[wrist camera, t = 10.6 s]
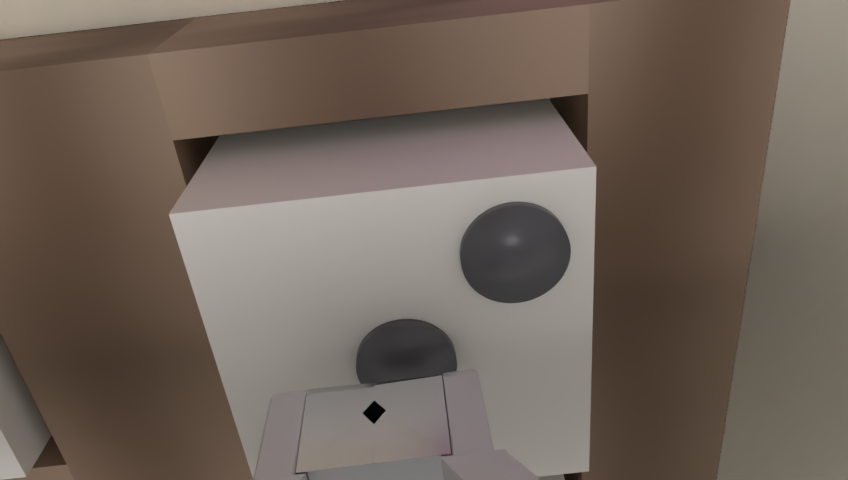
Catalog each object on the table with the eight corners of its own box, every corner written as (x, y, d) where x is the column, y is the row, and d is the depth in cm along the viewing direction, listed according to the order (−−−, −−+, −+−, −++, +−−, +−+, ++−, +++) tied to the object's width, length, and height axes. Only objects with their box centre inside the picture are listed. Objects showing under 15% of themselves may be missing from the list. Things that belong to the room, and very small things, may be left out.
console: (710, -42, 13) (793, -20, 10) (651, 562, 21) (688, 659, 19) (-524, 99, 13) (-754, 157, 10) (-90, 641, 22) (-156, 747, 19)
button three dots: (548, 98, 12) (600, 172, 9) (551, 359, 15) (591, 479, 12) (219, 135, 12) (165, 221, 9) (285, 388, 15) (260, 515, 12)
